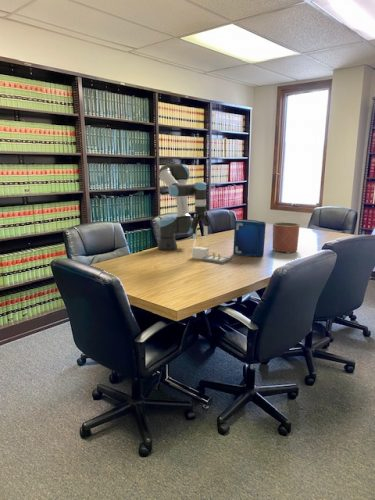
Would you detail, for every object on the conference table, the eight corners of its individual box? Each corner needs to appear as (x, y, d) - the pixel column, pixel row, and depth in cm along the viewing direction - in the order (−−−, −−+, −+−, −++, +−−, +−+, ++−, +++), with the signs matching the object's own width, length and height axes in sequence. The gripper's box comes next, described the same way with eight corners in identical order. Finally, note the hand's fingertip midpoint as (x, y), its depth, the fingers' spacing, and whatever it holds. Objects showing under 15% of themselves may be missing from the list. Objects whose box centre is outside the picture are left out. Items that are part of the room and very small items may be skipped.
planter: (266, 250, 274) (267, 224, 270) (279, 246, 288) (280, 221, 283) (290, 254, 262) (291, 227, 257) (302, 250, 275) (304, 223, 271)
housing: (192, 257, 255) (192, 247, 254) (196, 256, 260) (196, 246, 258) (204, 259, 250) (204, 249, 248) (208, 258, 254) (208, 248, 253)
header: (201, 260, 247) (201, 253, 246) (211, 257, 257) (211, 250, 256) (222, 264, 238) (222, 256, 237) (231, 260, 248) (231, 253, 247)
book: (265, 255, 261) (266, 220, 255) (263, 257, 254) (265, 221, 249) (234, 253, 268) (235, 219, 262) (232, 255, 261) (233, 220, 256)
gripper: (194, 207, 234) (195, 240, 239) (214, 204, 255) (214, 234, 259) (185, 207, 239) (185, 239, 243) (205, 203, 259) (205, 233, 263)
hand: (200, 236), depth 251 cm, fingers open, 13 cm apart
